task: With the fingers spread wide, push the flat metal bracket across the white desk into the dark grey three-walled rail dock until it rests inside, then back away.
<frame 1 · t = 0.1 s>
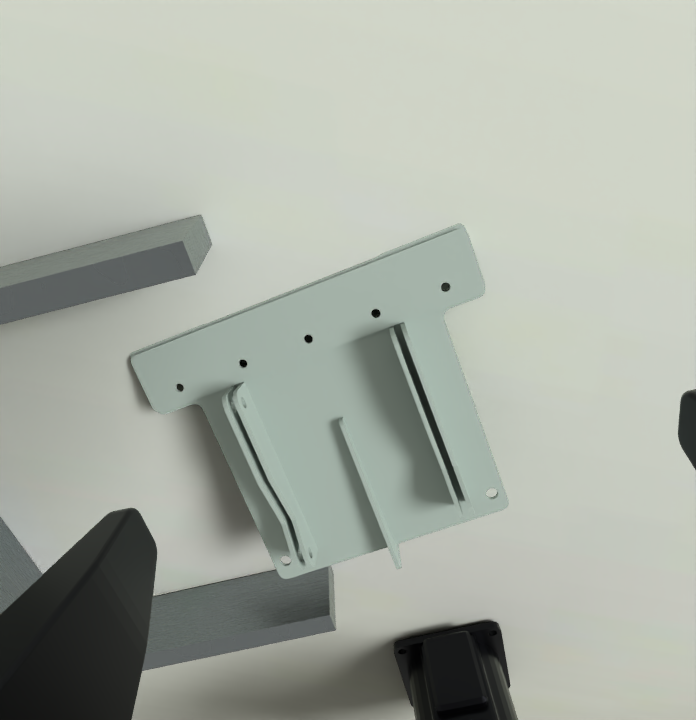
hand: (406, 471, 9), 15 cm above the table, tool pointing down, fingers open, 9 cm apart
rail dock: (141, 459, 27), on the table
metal bracket: (343, 399, 26), on the table
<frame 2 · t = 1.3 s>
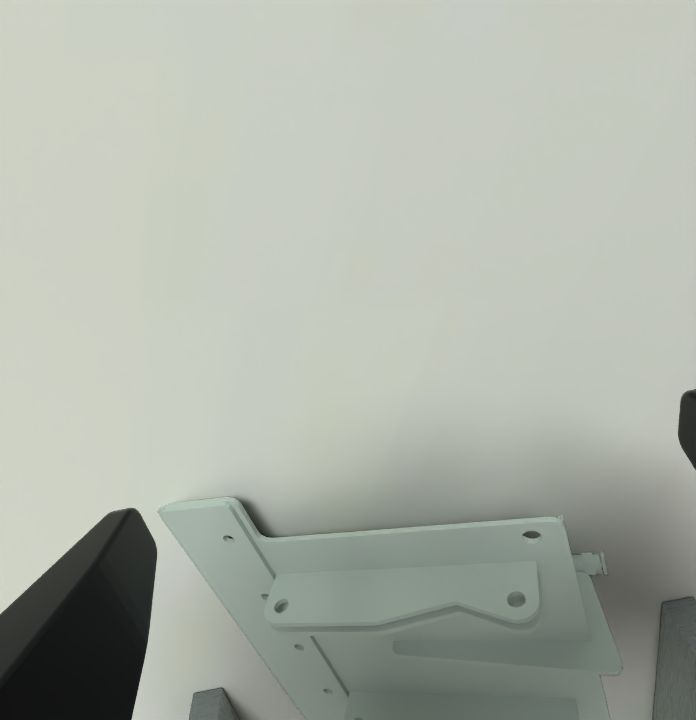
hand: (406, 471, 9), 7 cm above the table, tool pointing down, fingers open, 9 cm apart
metal bracket: (401, 582, 22), on the table
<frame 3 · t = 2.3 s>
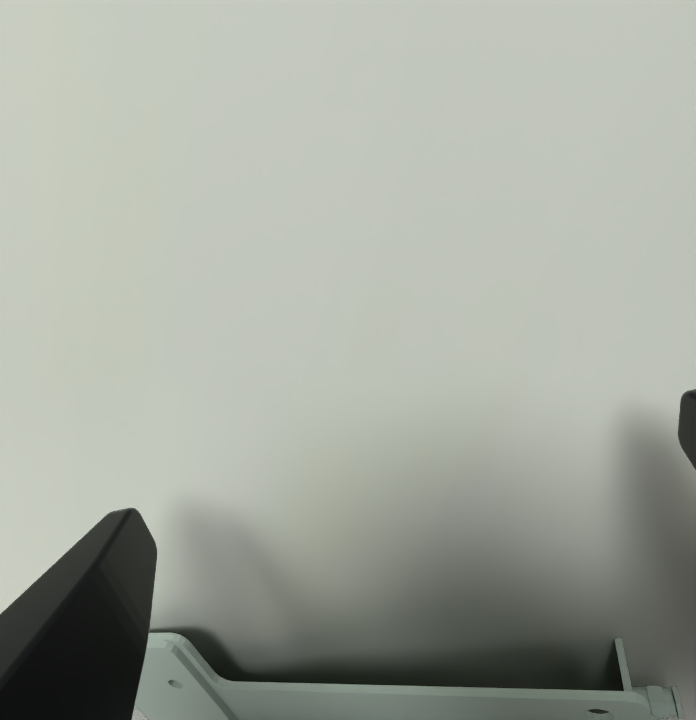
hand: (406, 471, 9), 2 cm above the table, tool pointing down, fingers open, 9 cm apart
metal bracket: (408, 708, 17), on the table
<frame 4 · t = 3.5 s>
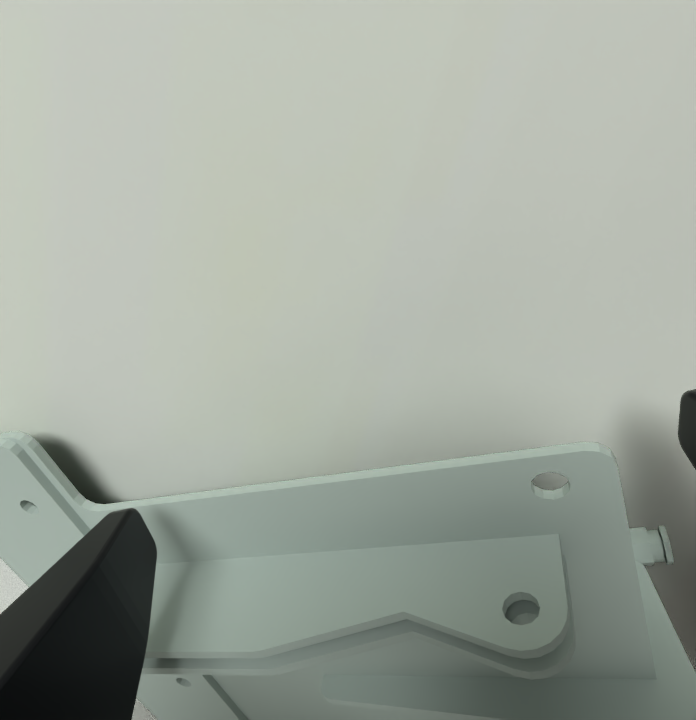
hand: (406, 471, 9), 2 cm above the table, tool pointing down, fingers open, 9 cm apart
metal bracket: (345, 580, 14), on the table
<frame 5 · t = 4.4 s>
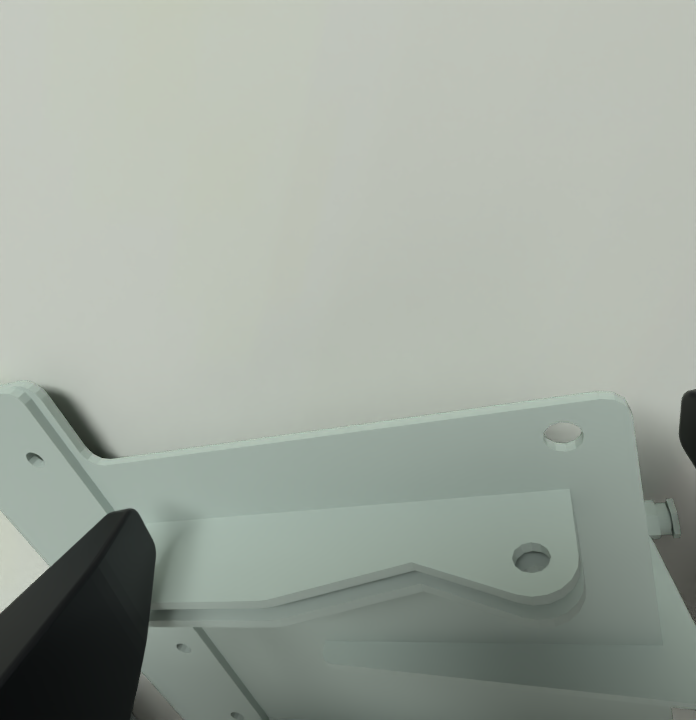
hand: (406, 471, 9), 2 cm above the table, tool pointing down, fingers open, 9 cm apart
metal bracket: (348, 551, 14), on the table, touching gripper
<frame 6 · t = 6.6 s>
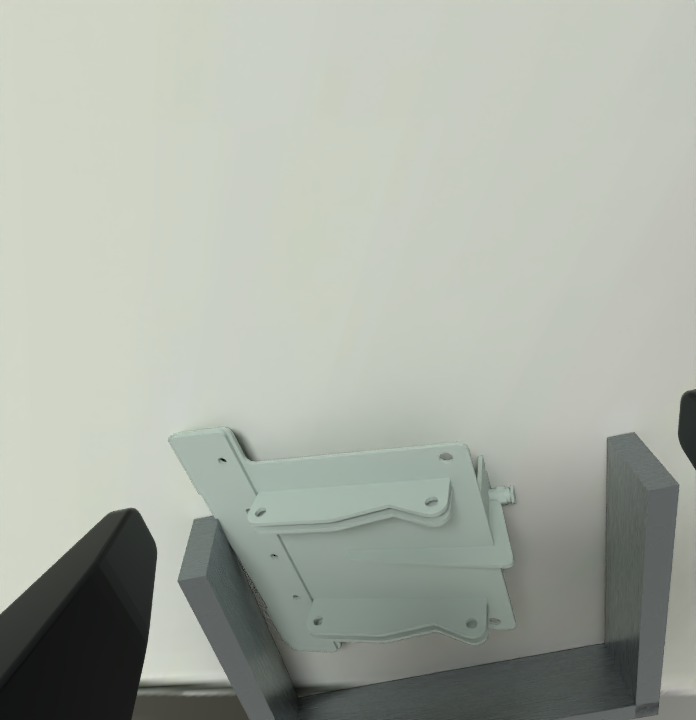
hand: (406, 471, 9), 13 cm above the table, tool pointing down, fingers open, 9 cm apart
rail dock: (430, 577, 29), on the table
metal bracket: (357, 511, 27), on the table
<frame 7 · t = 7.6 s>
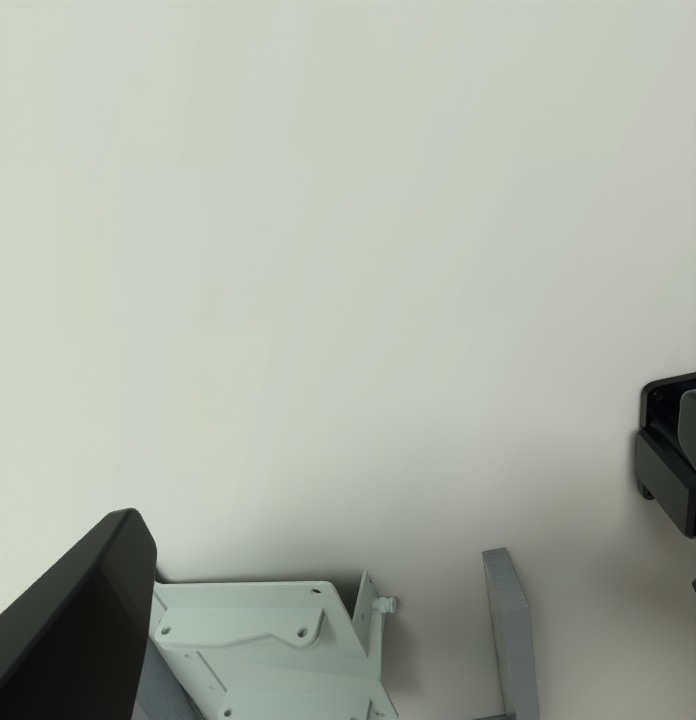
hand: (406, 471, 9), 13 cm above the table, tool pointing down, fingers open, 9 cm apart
rail dock: (339, 665, 32), on the table
metal bracket: (264, 612, 31), on the table
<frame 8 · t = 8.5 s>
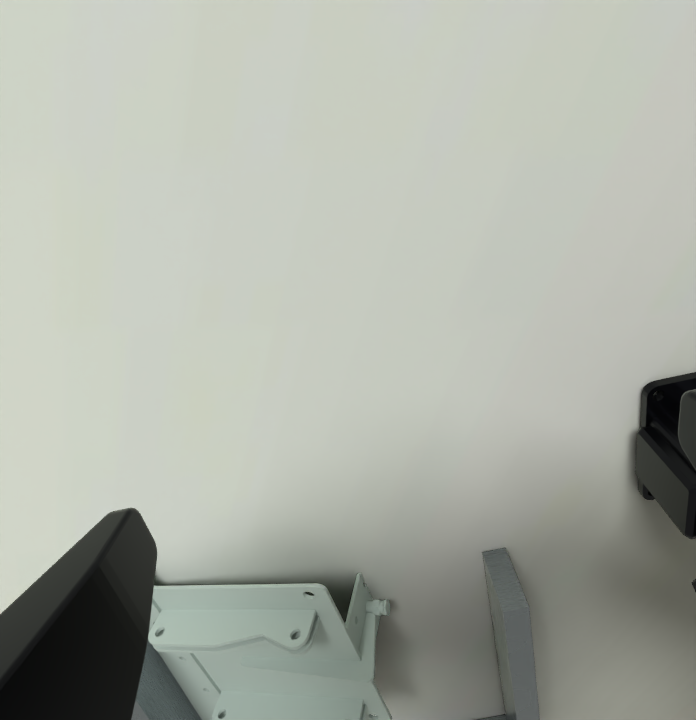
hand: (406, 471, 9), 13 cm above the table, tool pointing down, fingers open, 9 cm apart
rail dock: (339, 665, 32), on the table
metal bracket: (258, 614, 31), on the table
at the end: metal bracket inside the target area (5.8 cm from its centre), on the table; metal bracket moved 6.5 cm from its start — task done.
